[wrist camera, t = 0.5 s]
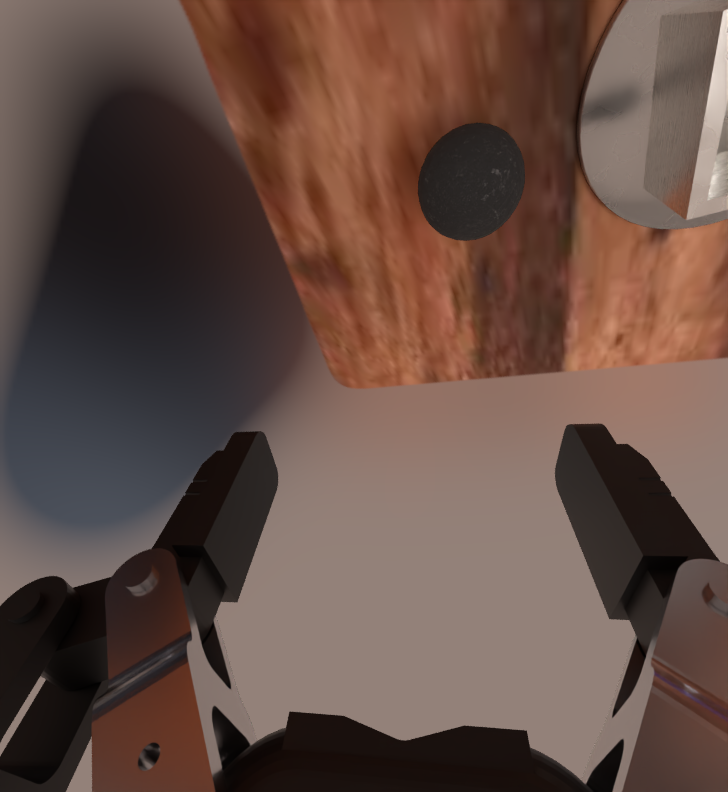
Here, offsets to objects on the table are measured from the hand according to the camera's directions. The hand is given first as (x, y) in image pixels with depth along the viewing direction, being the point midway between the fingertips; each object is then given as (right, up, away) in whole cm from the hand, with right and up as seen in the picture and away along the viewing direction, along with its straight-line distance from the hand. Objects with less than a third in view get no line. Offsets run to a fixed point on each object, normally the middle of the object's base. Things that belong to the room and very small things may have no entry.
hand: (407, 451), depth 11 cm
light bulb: (+6, +18, +16) cm, 25 cm away
